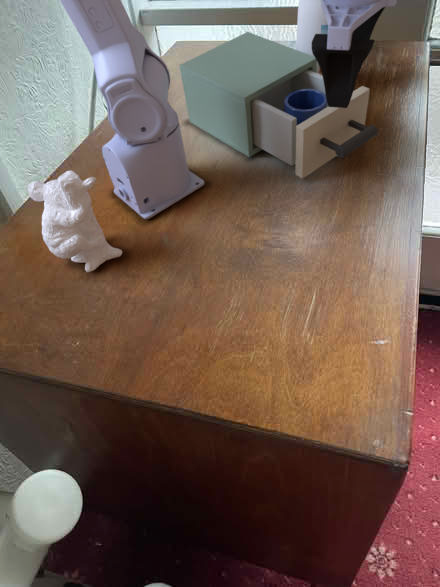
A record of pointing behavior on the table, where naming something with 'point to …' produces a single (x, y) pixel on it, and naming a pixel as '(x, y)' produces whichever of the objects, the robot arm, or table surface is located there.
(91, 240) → the koala figurine
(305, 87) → the drawer
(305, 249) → the table surface
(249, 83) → the mint green cabinet
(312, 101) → the cup
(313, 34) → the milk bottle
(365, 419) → the table surface
